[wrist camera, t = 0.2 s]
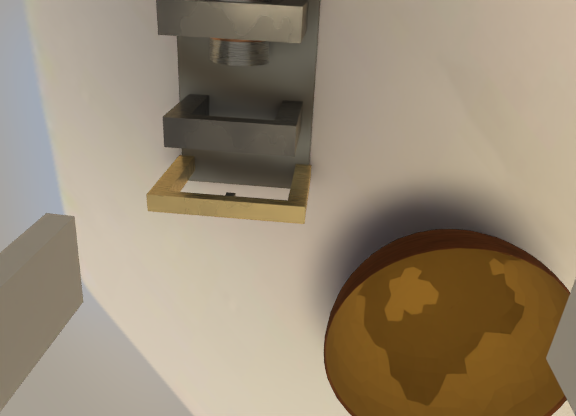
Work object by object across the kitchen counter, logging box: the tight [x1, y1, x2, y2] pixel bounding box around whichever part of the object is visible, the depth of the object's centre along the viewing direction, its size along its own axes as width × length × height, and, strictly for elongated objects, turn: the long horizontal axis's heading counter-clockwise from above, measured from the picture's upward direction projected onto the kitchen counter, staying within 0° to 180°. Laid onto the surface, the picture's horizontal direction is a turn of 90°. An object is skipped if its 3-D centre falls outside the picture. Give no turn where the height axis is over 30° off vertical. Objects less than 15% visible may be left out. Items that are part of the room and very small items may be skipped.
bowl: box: [324, 229, 570, 416], centre depth 41 cm, size 18×18×10 cm
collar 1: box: [156, 0, 309, 43], centre depth 34 cm, size 2×8×6 cm, turn 87°
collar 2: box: [163, 94, 303, 157], centre depth 37 cm, size 2×8×6 cm, turn 87°
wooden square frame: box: [147, 155, 311, 224], centre depth 38 cm, size 1×10×8 cm, turn 87°
